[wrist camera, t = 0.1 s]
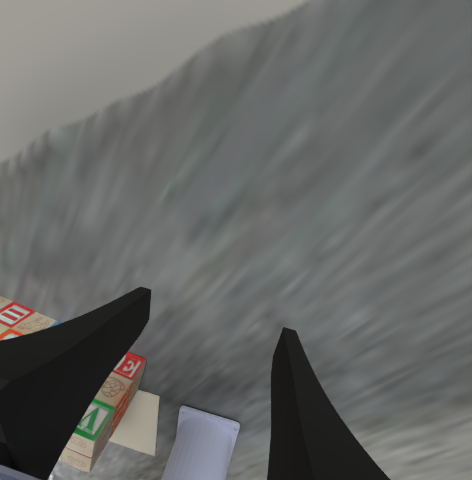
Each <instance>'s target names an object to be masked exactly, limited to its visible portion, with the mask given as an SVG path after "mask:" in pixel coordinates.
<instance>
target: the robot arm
mask: <svg viewBox="0 0 472 480" xmlns="http://www.w3.org/2000/svg"><path fill="white" fill-rule="evenodd" d="M150 299H151V290H150V289H147V288H143V287H139V288H137V289H135V290H133V291H131V292H129V293H127V294H125V295H124V296H122V297H120V298H118V299H116V300H114V301H112V302H110V303H108V304H106V305H104V306H102V307H99V308H97V309H95V310H93V311H91V312H89V313H86V314H84V315H82V316H79V317H77V318H74V319H72V320H69V321H66V322H64V323H61V324H58V325H55V326H52V327H49V328H46V329H42V330H39V331H36V332H33V333H29V334H25V335H22V336H18V337H14V338H10V339H6V340H1V341H0V480H47V479H48V477H49V475H50V474H51V472H52V470H53V468H54V466H55V464H56V463H57V461H58V459H59V457H60V455H61V454H62V452H63V450H64V448H65V446H66V445H67V443H68V441H69V440H70V438H71V436H72V434H73V433H74V431H75V429H76V427H77V426H78V424H79V422H80V421H81V419H82V417H83V416H84V414H85V412H86V411H87V409H88V408H89V406H90V404H91V403H92V401H93V399H94V398H95V396H96V395H97V393H98V392H99V390H100V388H101V387H102V385H103V384H104V382H105V381H106V379H107V378H108V376H109V375H110V374H111V372H112V371H113V370H114V368H115V367H116V366H117V365H118V363H119V362H120V361H121V359H122V358H123V357H124V355H125V354H126V353H127V352H128V350H129V349H130V348H131V346H132V345H133V344H134V342H135V341H136V340H137V338H138V337H139V336H140V334H141V332H142V331H143V329H144V327H145V326H146V324H147V322H148V320H149V314H150ZM239 428H240V424H239V423H238V422H236V421H233V420H230V419H226V418H223V417H220V416H217V415H213V414H210V413H207V412H204V411H200V410H197V409H194V408H190V407H187V406H181V407H180V409H179V417H178V425H177V432H176V439H175V442H174V445H173V448H172V450H171V453H170V456H169V459H168V461H167V464H166V467H165V470H164V473H163V475H162V478H161V480H226V475H227V469H228V464H229V462H230V458H231V455H232V452H233V448H234V445H235V442H236V438H237V435H238V432H239ZM267 480H390V479H389V478H388V477H387V476H386V474H385V473H384V472H383V471H382V470H381V469H380V468H379V467H378V466H377V464H376V463H375V462H374V461H373V460H372V458H371V457H370V456H369V455H368V453H367V452H366V451H365V450H364V449H363V447H362V446H361V445H360V444H359V442H358V441H357V440H356V438H355V437H354V436H353V434H352V433H351V432H350V430H349V429H348V427H347V426H346V425H345V423H344V422H343V421H342V419H341V418H340V416H339V415H338V413H337V412H336V410H335V409H334V407H333V405H332V404H331V402H330V401H329V399H328V397H327V396H326V394H325V392H324V390H323V389H322V387H321V385H320V383H319V381H318V379H317V377H316V376H315V374H314V372H313V369H312V367H311V365H310V363H309V361H308V359H307V357H306V354H305V352H304V350H303V347H302V345H301V343H300V340H299V337H298V335H297V332H296V331H295V330H292V329H288V328H285V327H283V330H282V333H281V335H280V338H279V341H278V344H277V347H276V349H275V352H274V355H273V362H272V371H271V441H270V453H269V465H268V476H267Z"/></svg>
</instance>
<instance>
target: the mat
mask: <svg viewBox="0 0 472 480" xmlns="http://www.w3.org/2000/svg"><path fill="white" fill-rule="evenodd" d="M159 400H160V396H158V395H154V394H151V393H148V392H144V391H141V390H138V391H137V393H136V394H135V396H134V398H133V400H132V401H131V403H130V405H129V407H128V408H127V410H126V411H125V414H124V416H123V417H122V419H121V421H120V423H119V424H118V426H117V428H116V429H115V431H114V433H113V434H112V436H111V438H110V439H109V440H108V441H110V442H113V443H116V444H119V445H122V446H125V447H128V448H131V449H134V450H137V451H140V452H143V453H146V454H149V455H152V456H155V454H156V440H157V427H158V413H159Z"/></svg>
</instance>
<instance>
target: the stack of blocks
mask: <svg viewBox="0 0 472 480" xmlns="http://www.w3.org/2000/svg"><path fill="white" fill-rule="evenodd" d="M58 324H61V322H57V321H56V320H53V319H51V318H48V317H46V316H44V315H42V314H39V313H37V312H35V311H33V310H31V309H29V308H26V307H24V306H22V305H19V304H17V303H15V302H12V301H10V300H8V299H6V298H3V297H1V296H0V341H1V340H6V339H10V338H14V337H18V336H22V335H25V334H29V333H33V332H36V331H39V330H42V329H46V328H49V327H52V326H55V325H58ZM145 364H146V359H144V358H141V357H139V356H136V355H134V354H131V353H129V352H127V353H126V354H125V355H124V357H123V358H122V359H121V361H120V362H119V363H118V365H117V366H116V367H115V368H114V370H113V371H112V372H111V374H110V375H109V376H108V378H107V379H106V381H105V382H104V384H103V385H102V387H101V388H100V390H99V392H98V393H97V395H96V396H95V398H94V399H93V401H92V403H91V404H90V406H89V408H88V409H87V411H86V412H85V414H84V416H83V417H82V419H81V421H80V422H79V424H78V426H77V427H76V429H75V431H74V433H73V434H72V436H71V438H70V440H69V441H68V443H67V445H66V446H65V448H64V450H63V452H62V454H61V455H60V457H59V459H58V460H60V461H63V462H64V463H67V464H69V465H71V466H73V467H75V468H77V469H80V470H82V471H84V472H87V473H89V472H90V471H91V469H92V468H93V466H94V464H95V463H96V461H97V459H98V458H99V456H100V454H101V452H102V451H103V449H104V447H105V446H106V444H107V442H108V440H109V439H110V438H111V436H112V434H113V433H114V431H115V429H116V428H117V426H118V424H119V423H120V421H121V419H122V417H123V416H124V414H125V411H126V410H127V408H128V407H129V405H130V403H131V401H132V400H133V398H134V396H135V394H136V393H137V391H138V389H139V385H140V381H141V378H142V375H143V372H144V368H145Z"/></svg>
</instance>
